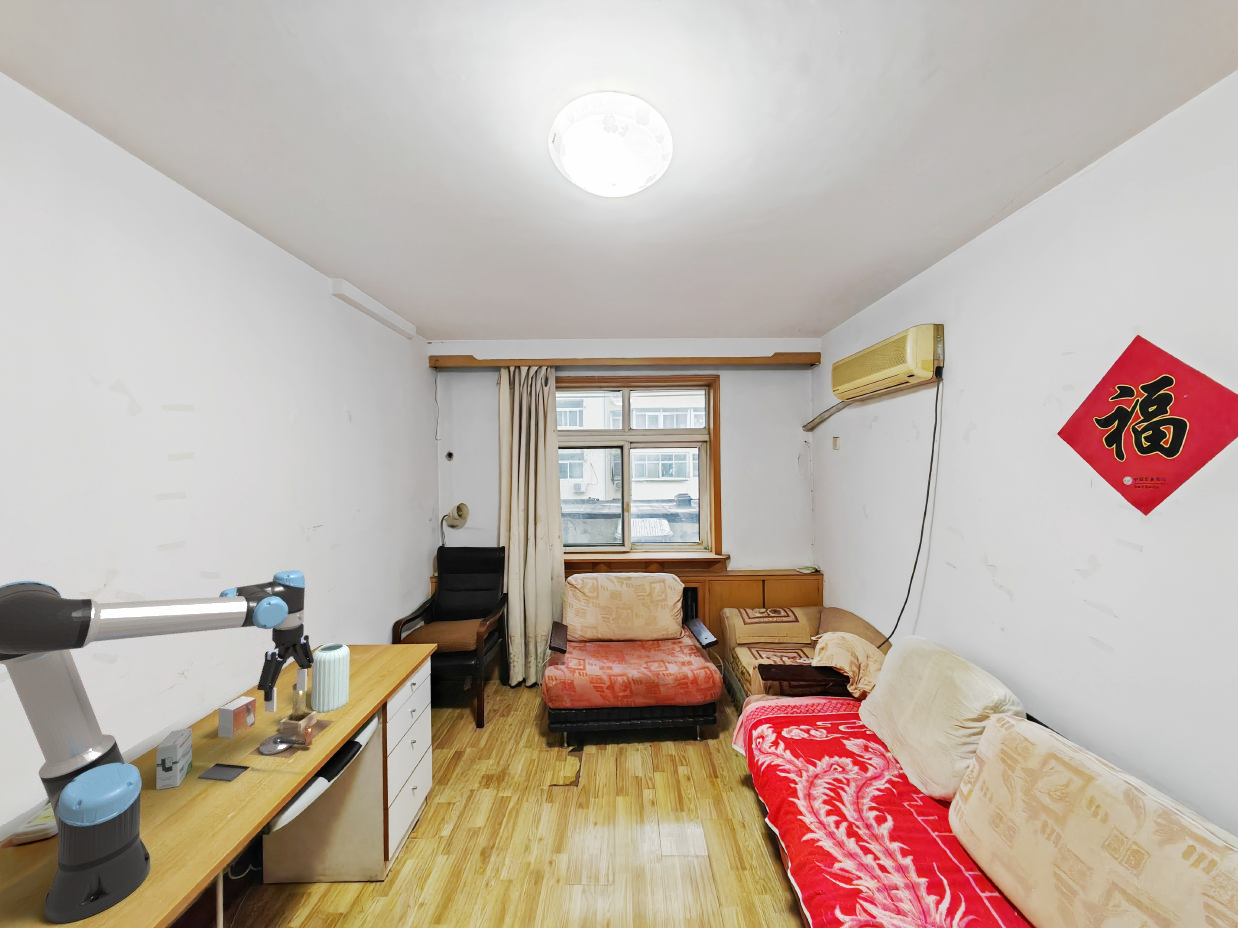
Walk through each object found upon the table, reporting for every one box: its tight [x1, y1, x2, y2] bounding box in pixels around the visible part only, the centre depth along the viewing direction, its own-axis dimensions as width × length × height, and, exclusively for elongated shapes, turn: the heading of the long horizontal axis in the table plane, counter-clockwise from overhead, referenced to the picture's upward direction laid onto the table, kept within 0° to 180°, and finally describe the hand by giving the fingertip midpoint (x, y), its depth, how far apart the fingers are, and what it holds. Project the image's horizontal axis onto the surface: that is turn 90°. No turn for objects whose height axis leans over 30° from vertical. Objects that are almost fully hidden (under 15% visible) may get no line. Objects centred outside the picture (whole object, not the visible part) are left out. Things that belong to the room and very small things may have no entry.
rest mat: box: [197, 762, 251, 782], centre depth 140 cm, size 10×10×1 cm
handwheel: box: [258, 726, 313, 754], centre depth 148 cm, size 9×16×6 cm, turn 85°
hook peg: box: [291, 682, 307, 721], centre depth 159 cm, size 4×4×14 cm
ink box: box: [155, 727, 193, 790], centre depth 135 cm, size 9×5×12 cm, turn 21°
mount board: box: [248, 718, 335, 759], centre depth 153 cm, size 20×13×2 cm, turn 175°
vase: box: [310, 642, 351, 713], centre depth 173 cm, size 12×12×22 cm
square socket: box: [279, 710, 318, 734], centre depth 159 cm, size 7×7×4 cm
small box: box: [217, 695, 257, 739], centre depth 156 cm, size 8×6×10 cm
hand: (286, 700), depth 140 cm, fingers open, 11 cm apart
